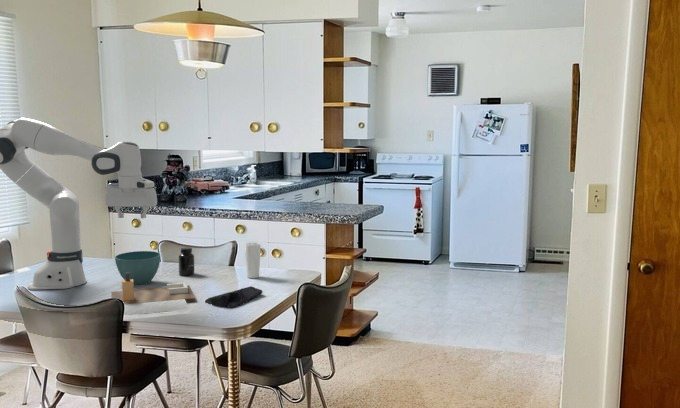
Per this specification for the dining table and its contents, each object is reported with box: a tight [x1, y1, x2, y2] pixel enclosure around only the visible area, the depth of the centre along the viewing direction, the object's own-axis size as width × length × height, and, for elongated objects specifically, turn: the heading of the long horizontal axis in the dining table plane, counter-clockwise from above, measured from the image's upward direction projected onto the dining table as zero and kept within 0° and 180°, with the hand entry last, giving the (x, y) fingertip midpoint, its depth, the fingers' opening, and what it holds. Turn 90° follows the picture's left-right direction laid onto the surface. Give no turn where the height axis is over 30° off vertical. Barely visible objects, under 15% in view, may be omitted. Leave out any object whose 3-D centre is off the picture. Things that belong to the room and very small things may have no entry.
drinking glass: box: [244, 242, 262, 279], centre depth 275 cm, size 7×7×15 cm
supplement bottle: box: [178, 247, 195, 277], centre depth 280 cm, size 7×7×12 cm
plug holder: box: [166, 282, 188, 294], centre depth 247 cm, size 7×8×2 cm
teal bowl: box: [114, 250, 161, 287], centre depth 263 cm, size 18×18×12 cm
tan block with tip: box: [121, 272, 135, 301], centre depth 234 cm, size 4×4×10 cm
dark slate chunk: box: [204, 285, 264, 309], centre depth 240 cm, size 15×22×5 cm
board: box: [110, 284, 197, 305], centre depth 241 cm, size 30×20×2 cm, turn 110°
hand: (132, 217), depth 246 cm, fingers open, 8 cm apart
